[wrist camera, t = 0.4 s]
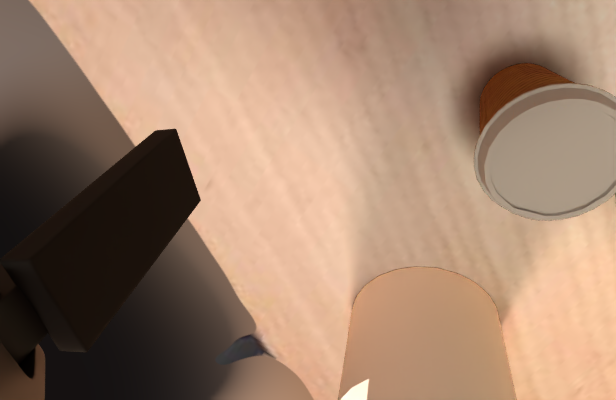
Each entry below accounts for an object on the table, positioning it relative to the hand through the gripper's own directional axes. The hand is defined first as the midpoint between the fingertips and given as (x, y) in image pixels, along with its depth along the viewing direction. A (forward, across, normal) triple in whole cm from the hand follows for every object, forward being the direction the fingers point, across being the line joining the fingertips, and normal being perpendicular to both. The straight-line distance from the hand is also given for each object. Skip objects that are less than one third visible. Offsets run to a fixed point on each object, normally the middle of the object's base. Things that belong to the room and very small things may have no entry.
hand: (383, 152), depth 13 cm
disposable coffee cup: (+27, +9, -9) cm, 30 cm away
